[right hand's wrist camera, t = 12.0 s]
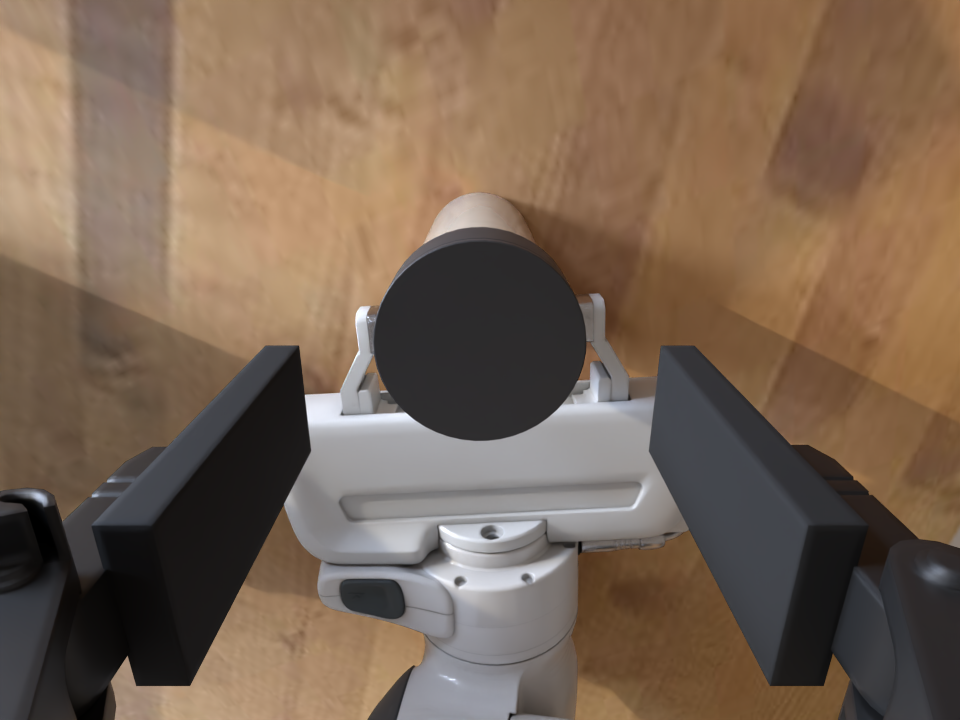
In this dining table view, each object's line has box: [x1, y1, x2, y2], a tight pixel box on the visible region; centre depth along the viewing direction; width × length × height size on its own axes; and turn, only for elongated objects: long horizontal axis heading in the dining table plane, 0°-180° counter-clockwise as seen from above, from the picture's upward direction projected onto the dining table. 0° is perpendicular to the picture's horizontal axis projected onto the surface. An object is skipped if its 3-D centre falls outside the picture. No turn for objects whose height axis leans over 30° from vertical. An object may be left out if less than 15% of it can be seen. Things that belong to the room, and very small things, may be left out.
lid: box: [373, 227, 587, 441], centre depth 18 cm, size 6×6×2 cm
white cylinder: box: [424, 193, 537, 245], centre depth 25 cm, size 5×5×15 cm
